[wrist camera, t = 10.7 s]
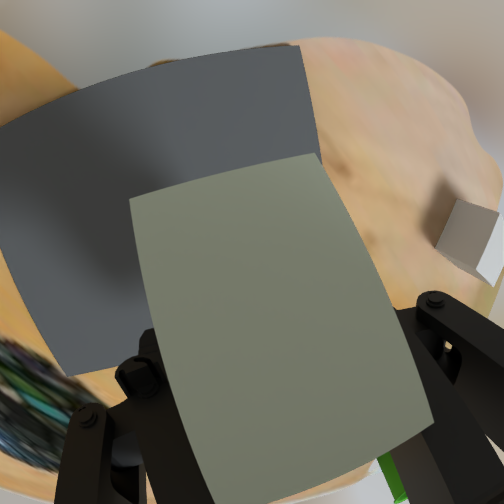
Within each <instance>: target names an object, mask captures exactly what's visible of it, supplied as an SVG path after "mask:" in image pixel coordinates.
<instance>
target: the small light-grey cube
mask: <svg viewBox="0 0 504 504" xmlns="http://www.w3.org/2000/svg"><path fill="white" fill-rule="evenodd" d="M435 249H436V250H437V251H438V252H440V253H441V254H442V255H443V256H444V257H446V258H447V259H448V260H449V261H451V262H452V263H453V264H454V265H455V266H457V267H458V268H460V269H462V270H464V271H465V272H467V273H469V274H471V275H473V276H475V277H476V278H478V279H480V280H482V281H483V282H485V283H487V284H489V285H491V286H492V287H494V285H495V283H496V281H497V279H498V277H499V275H500V273H501V270H502V268H503V266H504V219H503V217H502V216H501V214H500V213H499V212H496V211H493V210H490V209H487V208H484V207H481V206H478V205H475V204H472V203H469V202H466V201H463V200H459V199H457V200H456V202H455V205H454V207H453V210H452V212H451V214H450V217H449V219H448V221H447V223H446V225H445V228H444V230H443V232H442V234H441V236H440V238H439V240H438V243H437V245H436V247H435Z"/></svg>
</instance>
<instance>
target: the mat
mask: <svg viewBox="0 0 504 504" xmlns="http://www.w3.org/2000/svg"><path fill="white" fill-rule="evenodd" d="M310 153H315V154H316V156H317V158H318V159H319V161H320V163H321V164H322V159H321V153H320V147H319V141H318V135H317V129H316V123H315V118H314V112H313V107H312V102H311V97H310V92H309V87H308V82H307V78H306V73H305V68H304V64H303V59H302V55H301V51H300V47H299V45H298V46H278V47H265V48H254V49H245V50H237V51H229V52H222V53H216V54H210V55H204V56H198V57H193V58H188V59H183V60H178V61H174V62H169V63H165V64H161V65H157V66H153V67H149V68H145V69H142V70H138V71H135V72H131V73H128V74H125V75H121V76H118V77H115V78H112V79H109V80H106V81H103V82H100V83H97V84H94V85H92V86H89V87H86V88H83V89H81V90H78V91H76V92H73V93H71V94H68V95H66V96H63V97H61V98H59V99H56V100H54V101H52V102H50V103H47V104H45V105H43V106H41V107H39V108H37V109H35V110H33V111H30V112H28V113H26V114H24V115H23V116H21V117H19V118H17V119H15V120H13V121H11V122H9V123H7V124H6V125H4V126H2V127H0V248H1V251H2V253H3V256H4V258H5V261H6V263H7V266H8V268H9V270H10V273H11V275H12V277H13V280H14V282H15V284H16V286H17V289H18V291H19V293H20V295H21V297H22V299H23V301H24V303H25V305H26V307H27V309H28V311H29V313H30V315H31V317H32V319H33V321H34V323H35V324H36V326H37V328H38V330H39V332H40V333H41V335H42V337H43V339H44V340H45V342H46V344H47V345H48V347H49V349H50V350H51V352H52V354H53V355H54V357H55V359H56V360H57V362H58V363H59V365H60V366H61V368H62V369H63V371H64V372H65V374H66V375H67V377H69V376H74V375H79V374H84V373H88V372H93V371H98V370H102V369H107V368H111V367H116V366H119V365H120V364H121V363H123V362H124V361H125V360H127V359H129V358H130V357H132V356H136V355H138V350H139V339H140V337H141V336H142V334H143V332H144V331H145V330H147V329H151V328H154V326H153V322H152V318H151V314H150V309H149V305H148V301H147V296H146V292H145V287H144V282H143V278H142V273H141V268H140V262H139V257H138V252H137V246H136V240H135V234H134V228H133V222H132V215H131V209H130V202H129V199H131V198H134V197H137V196H140V195H144V194H147V193H150V192H153V191H157V190H160V189H164V188H167V187H171V186H174V185H178V184H181V183H185V182H188V181H192V180H196V179H200V178H203V177H207V176H211V175H215V174H219V173H223V172H227V171H231V170H235V169H240V168H244V167H248V166H253V165H257V164H261V163H266V162H271V161H275V160H280V159H285V158H290V157H295V156H300V155H305V154H310Z"/></svg>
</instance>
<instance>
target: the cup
mask: <svg viewBox="0 0 504 504" xmlns="http://www.w3.org/2000/svg"><path fill="white" fill-rule="evenodd" d="M377 460H378V463H379V465H380V467H381V470H382V472H383V474H384V476H385V479H386V481H387V483H388V485H389V488H390V490H391V492H392V495H393V497H394V499H395V501H394V503H395V504H397V503H400V502H402V501H405V500H406V499H408V497H407V495H406V492H405V490H404V487H403V484H402V482H401V479H400V477H399V474H398V472H397V469H396V467H395V464H394V462H393V459H392V457H391V454H390V452H389V451H388V452H386V453H385V454H383V455H381V456H379V457H377Z"/></svg>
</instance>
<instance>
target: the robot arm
mask: <svg viewBox="0 0 504 504" xmlns="http://www.w3.org/2000/svg"><path fill="white" fill-rule="evenodd" d="M393 308H394V307H393ZM394 311H395V313H396V315H397V318H398V320H399V323H400V325H401V328H402V330H403V333H404V335H405V338H406V340H407V343H408V346H409V348H410V351H411V354H412V356H413V359H414V362H415V365H416V367H417V370H418V373H419V376H420V379H421V382H422V385H423V388H424V391H425V394H426V397H427V400H428V403H429V407H430V410H431V413H432V417H433V420H434V423H433V424H431V425H430V426H428V427H427V428H425V429H424V430H422V431H421V432H419V433H418V434H416V435H415V436H413V437H411V438H410V439H408V440H407V441H405V442H403V443H402V444H400V445H398V446H397V447H395V448H393V449H392V450H390V451H389V452H390V454H391V457H392V459H393V462H394V464H395V467H396V469H397V472H398V474H399V477H400V479H401V482H402V484H403V487H404V490H405V492H406V495H407V497H408V500H409V503H410V504H504V466H503V464H502V462H501V460H500V459H499V457H498V455H497V453H496V452H495V450H494V448H493V447H492V445H491V443H490V442H489V440H488V438H487V437H486V436H488V437H489V438H490V439H491V440H492V441H493V442H494V443H495V444H496V445H497V446H498V447H499V448H500V449H501V450H502V451H503V452H504V329H502V328H501V327H499V326H498V325H496V324H495V323H493V322H492V321H490V320H489V319H487V318H485V317H484V316H482V315H481V314H479V313H478V312H476V311H474V310H473V309H471V308H469V307H468V306H466V305H465V304H463V303H461V302H460V301H458V300H456V299H455V298H453V297H451V296H450V295H448V294H446V293H444V292H441V291H427V292H424V293H422V294H421V295H420V296H418V299H417V303H416V307H412V308H407V309H402V310H396V309H395V308H394ZM446 341H447V342H449V343H450V344H451V345H452V348H451V349H448V348H446V347H445V343H446ZM115 379H116V380H117V382H118V384H119V385H120V387H121V388H122V390H123V391H124V393H125V394H126V396H127V399H126V400H125V401H123V402H121V403H120V404H118V405H116V406H113V407H111V408H109V409H107V410H106V409H105V408H104V407H103V405H101V404H98V403H88V404H85V405H83V406H81V407H79V408H78V409H77V410H76V411H75V412H74V413H73V414H72V416H71V419H70V422H69V426H68V430H67V434H66V439H65V443H64V448H63V453H62V458H61V463H60V468H59V474H58V480H57V486H56V493H55V500H54V504H147V495H146V472H147V476H148V479H149V482H150V485H151V488H152V491H153V494H154V497H155V500H156V502H157V504H215V502H214V500H213V498H212V496H211V493H210V491H209V489H208V487H207V484H206V482H205V480H204V477H203V475H202V473H201V470H200V468H199V465H198V463H197V460H196V458H195V455H194V453H193V450H192V447H191V445H190V442H189V439H188V437H187V434H186V431H185V428H184V426H183V423H182V420H181V417H180V414H179V411H178V408H177V405H176V402H175V399H174V396H173V393H172V390H171V387H170V383H169V380H168V377H167V373H166V370H165V367H164V363H163V360H162V356H161V352H160V349H159V345H158V341H157V338H156V334H155V330H154V328H151V329H147V330H145V331H144V332H143V334H142V336H141V337H140V339H139V350H138V355H136V356H132V357H130V358H129V359H127V360H125V361H124V362H123V363H121V364H120V365H119V367H118V368H117V370H116V371H115Z"/></svg>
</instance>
